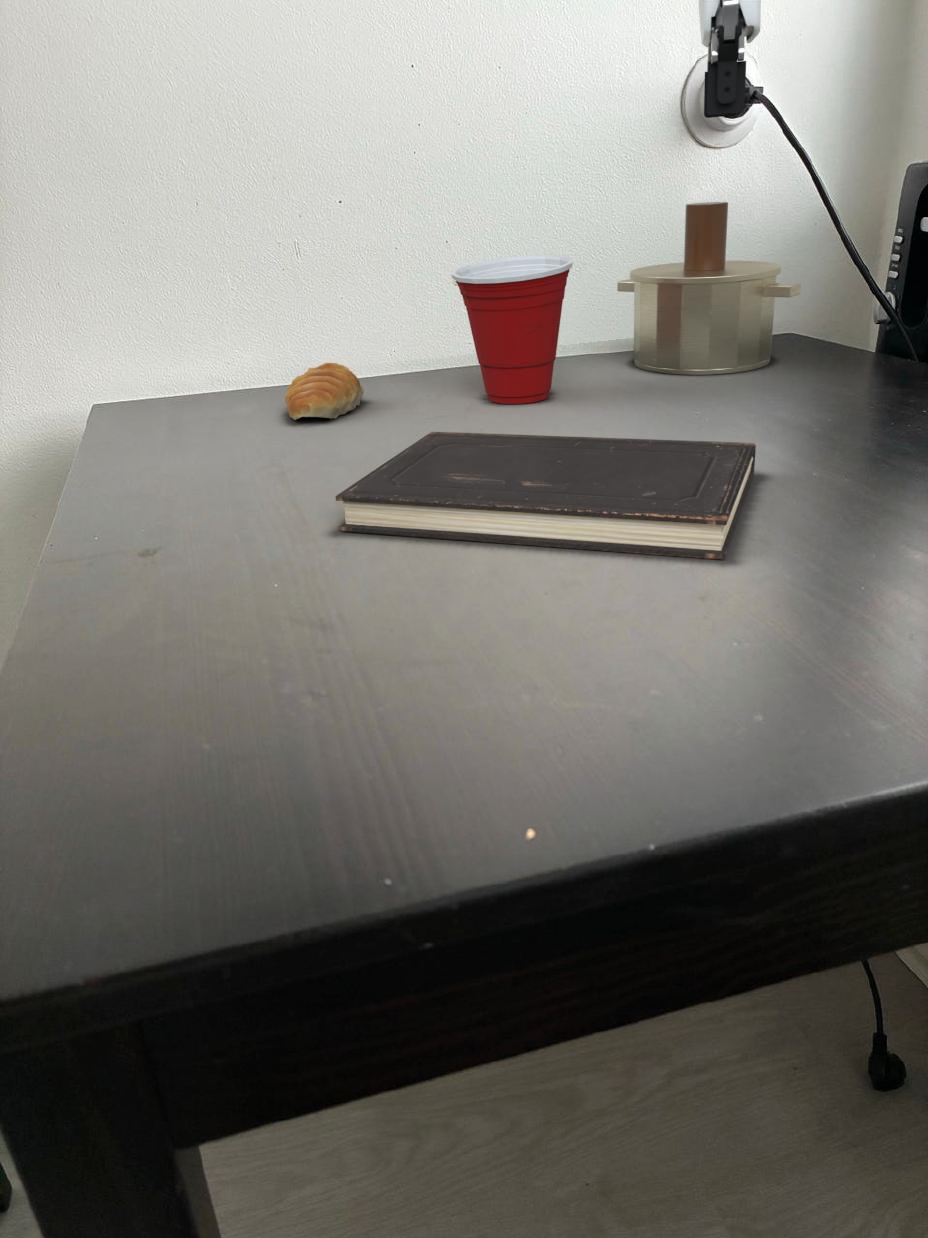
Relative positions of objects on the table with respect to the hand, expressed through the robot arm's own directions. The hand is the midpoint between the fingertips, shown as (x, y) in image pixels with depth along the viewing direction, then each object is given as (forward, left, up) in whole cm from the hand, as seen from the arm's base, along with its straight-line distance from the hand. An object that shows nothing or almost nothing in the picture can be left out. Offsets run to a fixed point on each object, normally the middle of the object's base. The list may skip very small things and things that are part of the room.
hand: (723, 114), depth 93 cm
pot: (+1, -1, -23) cm, 23 cm away
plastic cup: (+23, -8, -23) cm, 33 cm away
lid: (+1, -1, -14) cm, 14 cm away
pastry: (+35, -21, -23) cm, 46 cm away
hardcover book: (+46, +13, -23) cm, 53 cm away
